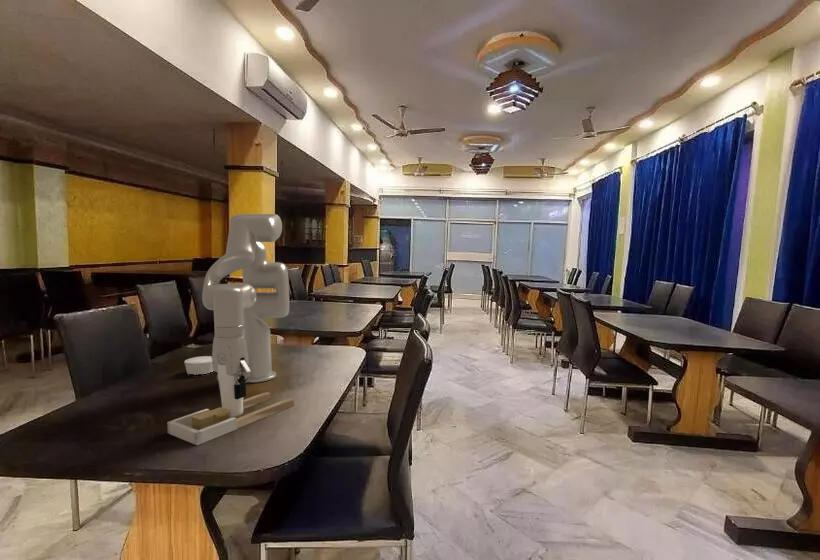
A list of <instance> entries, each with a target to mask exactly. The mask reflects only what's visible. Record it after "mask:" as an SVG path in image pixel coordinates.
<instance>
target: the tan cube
mask: <svg viewBox="0 0 820 560" xmlns="http://www.w3.org/2000/svg"><path fill="white" fill-rule="evenodd" d="M191 420H192V427H191V428H193V429H196V430H201V429H204V428H206V427H209V426H212V425H214V424H215V414H211V413H208V412H203V413H200V414H198V415H195V416H192V417H191Z"/></svg>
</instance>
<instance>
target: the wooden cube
mask: <svg viewBox="0 0 820 560" xmlns="http://www.w3.org/2000/svg"><path fill="white" fill-rule="evenodd" d="M208 413H211V414H215V424H217V423H220V422H222V421H225V420H228V419H230V418H229V410H228V409H224V408H222V406H221V407H220V406H219V407H217V408H214V409H211V410H210V411H208Z"/></svg>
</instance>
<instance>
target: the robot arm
mask: <svg viewBox="0 0 820 560" xmlns="http://www.w3.org/2000/svg"><path fill="white" fill-rule="evenodd" d="M282 232H283V221H282V219H281V217H280V216H279V215H278V214H276V213H239V214H235V215H232V216H231V217H230V219H229V230H228V234H227V235H228V236H227V243H226V250H225V253H224V255H222V256H221V257H220V258H219V259H217V260H216V261H215V262H214V263H213V264H212V265H211V266H210V267H209V269H208V270H207V271H206V274H205V277H204V280H203V281H204V282H203V287H202V292H201V293H202V294H201V295H202V296H201V300H202V304H203V306H204V307H205V308H206V309H207V310H210V311H213V322H214V323H213V324H214V326H213V327H214V337H213V341H212V342H213V343H212V351H211V352H212V353H211V356H212V368H213V370H214V373H215V375H216V380H217V384H218V385H217V387H218V395H220V396H221V394H220V387H219V379H218V364H221V365H226V373H227V375H230V376H233V375H234V379H235V383H236V385H234V393H235V399H240V398H242V397H243V398H245V397H246V396H247V388H246V387H247V385H246V383H261V382H267V381H271V380H273V379H274V378H276V376H277V372H276V371H274V370H272V346H271V344H272V343H271V342H272V341H271V329H270V327H269V325H268V324H267V322H266V321H264V319H279V318H282V319H283V318H285V317H287V316H289V313H290V284H289V283H290V281H289V270H288V268H287V267H288V266H286V265H285V264H284V263H283V262H277V261H274V262H272V261H271V262H268V261H267V248H266V246H265V245H264V243H272V242H273V243H274V242H276V241H277V240H278V239H279V238H280V237H281V234H282ZM239 271H241V273H242V276H241V277H242V283H220V282H221V280H223V278H225V277H227V276H228V275H230V274H232V273H235V272H239ZM256 289H259V290H260V289H264V290H265V289H274V290H275V291H272V292H270V291H269V292H268V291H262V292H261V291H260V292H259V291H257V292H256ZM240 367H241V369H242V372H238V371H239V368H240ZM240 374H242V376H241V377H240V378H238V375H240Z"/></svg>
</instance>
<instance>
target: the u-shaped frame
mask: <svg viewBox="0 0 820 560" xmlns="http://www.w3.org/2000/svg"><path fill="white" fill-rule="evenodd" d="M208 411H211V410H210V408H205V409H202V410H199V411H195V412H193V413H191V414H187V415H184V416H181V417H178V418H175V419H173V420H169V421H167V422H166V424H167V427H166V428H167V434H168V435H171V436H173V437H176V438H178V439H181V440H183V441H186V442H188V443H191V444H193V445H195V446H199V445H202V444H204V443H207V442H209V441H212V440H213V439H216V438H218V437H222V436H224V435H225V434H226V435H227V434H228V433H231V432H233V431H236V430H237V429H238V428H237V421H236V418H237V417H232V418H230V419H228V420H225V421H222V422H220V423H217V424H214V425H212V426H209V427H206V428H204V429H201V430H196V429H193V428H192V420H191V417H192V416H195V415H198V414H200V413H203V412H208Z"/></svg>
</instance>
